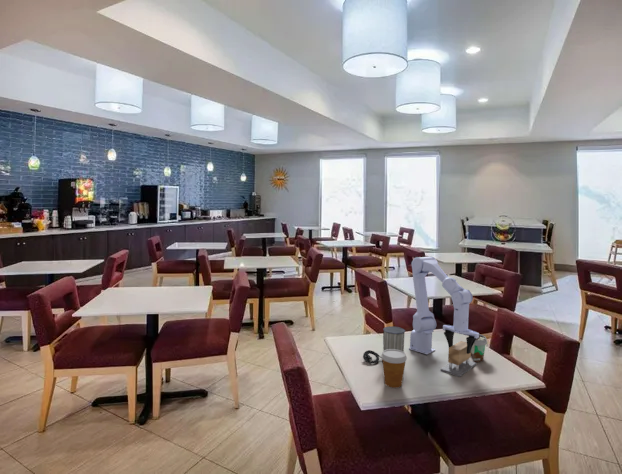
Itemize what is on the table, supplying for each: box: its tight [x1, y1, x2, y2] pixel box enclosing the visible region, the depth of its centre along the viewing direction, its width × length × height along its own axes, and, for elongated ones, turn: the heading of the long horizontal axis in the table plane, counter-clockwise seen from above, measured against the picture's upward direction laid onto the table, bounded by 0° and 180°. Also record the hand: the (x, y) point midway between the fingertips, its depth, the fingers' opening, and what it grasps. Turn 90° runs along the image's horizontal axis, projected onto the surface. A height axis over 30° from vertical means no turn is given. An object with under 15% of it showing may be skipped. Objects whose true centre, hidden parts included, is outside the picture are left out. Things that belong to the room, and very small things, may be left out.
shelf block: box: [447, 340, 471, 365], centre depth 162 cm, size 4×12×6 cm, turn 136°
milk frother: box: [362, 325, 406, 364], centre depth 166 cm, size 14×16×15 cm
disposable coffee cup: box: [380, 349, 408, 389], centre depth 146 cm, size 10×10×12 cm
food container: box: [470, 333, 488, 363], centre depth 172 cm, size 12×6×10 cm, turn 168°
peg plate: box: [440, 358, 478, 378], centre depth 162 cm, size 8×17×3 cm, turn 136°
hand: (459, 350), depth 162 cm, fingers open, 7 cm apart
